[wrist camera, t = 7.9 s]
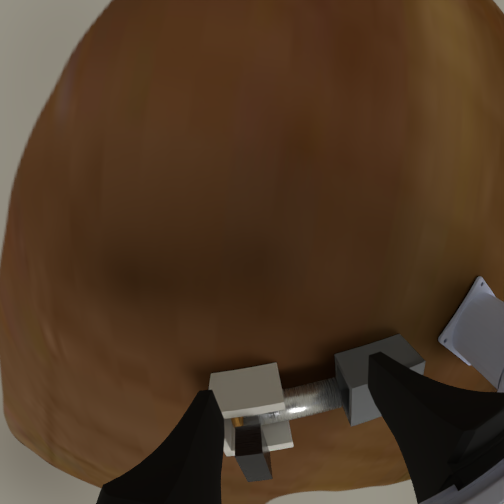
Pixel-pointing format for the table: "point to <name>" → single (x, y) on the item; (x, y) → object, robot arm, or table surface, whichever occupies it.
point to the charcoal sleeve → (356, 374)
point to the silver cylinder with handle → (296, 406)
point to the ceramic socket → (251, 402)
